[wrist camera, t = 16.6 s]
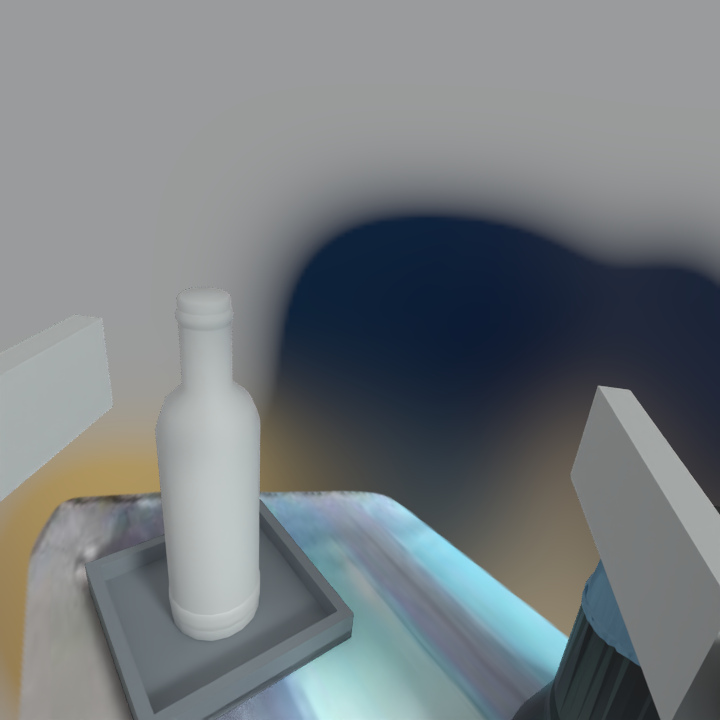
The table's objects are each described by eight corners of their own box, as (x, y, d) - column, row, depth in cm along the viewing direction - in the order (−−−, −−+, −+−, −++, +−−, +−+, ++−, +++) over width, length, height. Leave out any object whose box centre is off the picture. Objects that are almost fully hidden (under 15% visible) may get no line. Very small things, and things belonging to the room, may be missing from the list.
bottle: (151, 622, 46) (114, 297, 34) (205, 560, 53) (191, 271, 40) (229, 657, 44) (220, 322, 31) (275, 587, 51) (283, 290, 38)
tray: (259, 519, 60) (259, 498, 59) (350, 636, 48) (353, 613, 46) (88, 587, 50) (84, 564, 49) (147, 760, 37) (143, 735, 36)
